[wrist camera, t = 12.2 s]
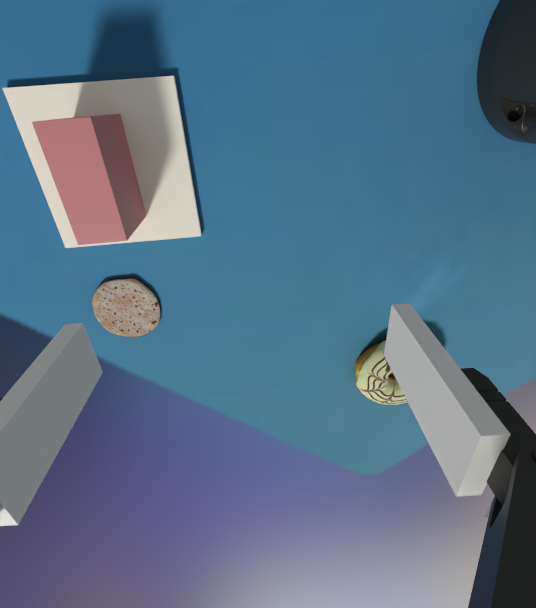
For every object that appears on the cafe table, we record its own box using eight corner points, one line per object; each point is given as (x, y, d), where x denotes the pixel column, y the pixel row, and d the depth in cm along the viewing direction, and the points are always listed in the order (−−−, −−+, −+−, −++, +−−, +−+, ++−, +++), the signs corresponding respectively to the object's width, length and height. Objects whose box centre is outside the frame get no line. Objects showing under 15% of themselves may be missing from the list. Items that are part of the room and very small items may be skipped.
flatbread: (159, 337, 43) (157, 342, 42) (95, 329, 42) (92, 334, 41) (163, 280, 39) (162, 284, 38) (92, 269, 38) (89, 274, 37)
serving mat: (174, 76, 29) (173, 75, 28) (201, 234, 36) (201, 236, 36) (6, 88, 29) (2, 88, 28) (68, 245, 36) (65, 247, 35)
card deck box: (146, 216, 34) (126, 240, 28) (106, 219, 34) (78, 245, 28) (120, 113, 30) (90, 117, 24) (73, 117, 29) (31, 121, 23)
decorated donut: (372, 324, 44) (383, 342, 41) (442, 341, 47) (457, 358, 43) (340, 382, 49) (348, 402, 46) (405, 395, 52) (416, 414, 48)
